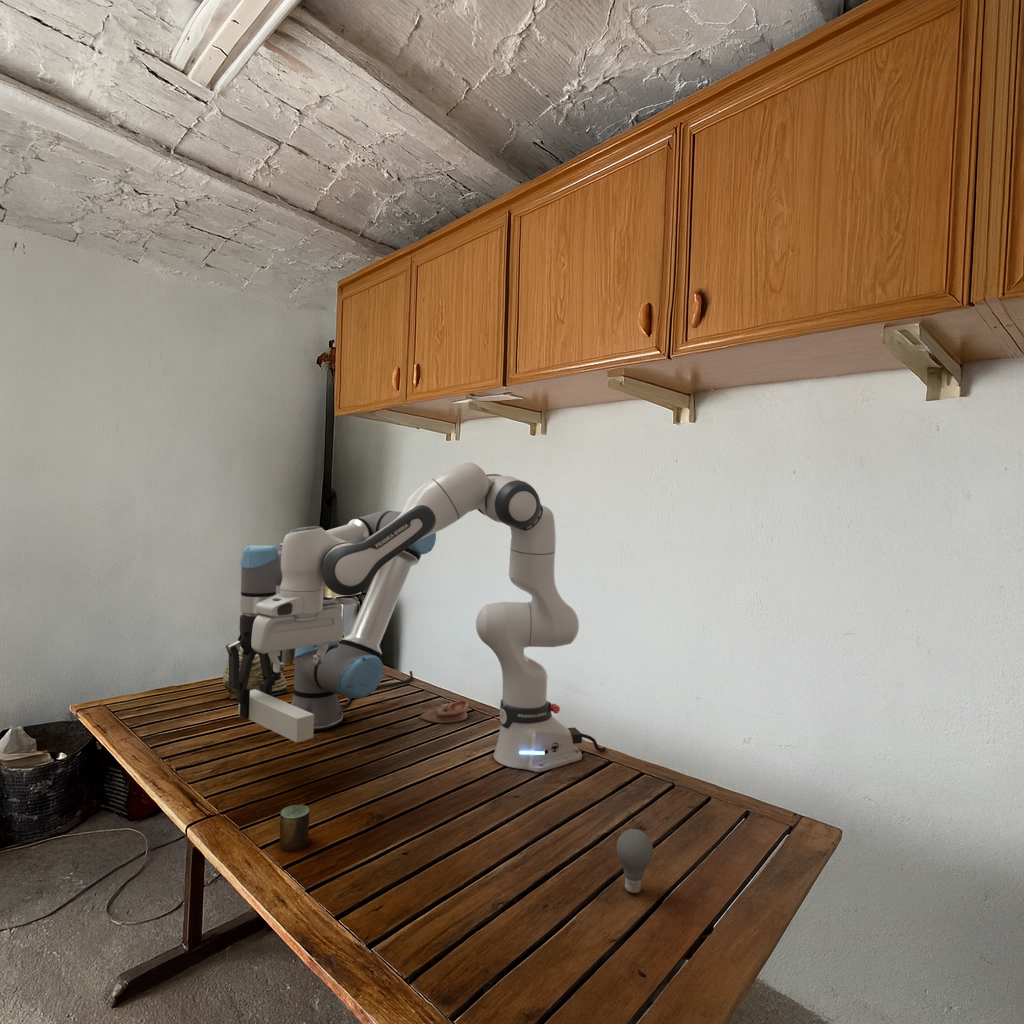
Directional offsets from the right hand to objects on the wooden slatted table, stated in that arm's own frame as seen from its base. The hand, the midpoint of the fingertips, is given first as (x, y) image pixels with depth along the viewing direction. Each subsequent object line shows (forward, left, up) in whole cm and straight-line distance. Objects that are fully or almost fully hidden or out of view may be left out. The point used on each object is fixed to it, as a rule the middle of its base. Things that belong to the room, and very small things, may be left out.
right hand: (298, 667), depth 134 cm
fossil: (+1, -72, -27) cm, 77 cm away
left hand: (+7, -16, -14) cm, 23 cm away
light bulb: (-46, +56, -27) cm, 77 cm away
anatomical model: (-47, -33, -27) cm, 63 cm away
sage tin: (+3, +20, -27) cm, 34 cm away
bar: (+3, -8, -15) cm, 17 cm away
